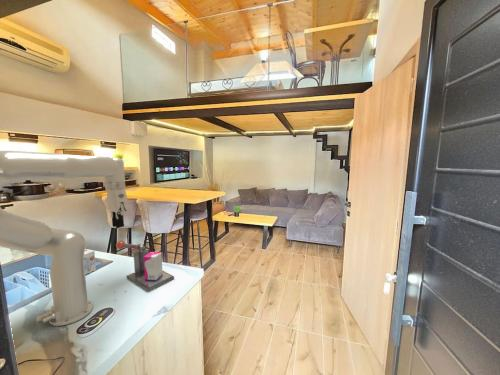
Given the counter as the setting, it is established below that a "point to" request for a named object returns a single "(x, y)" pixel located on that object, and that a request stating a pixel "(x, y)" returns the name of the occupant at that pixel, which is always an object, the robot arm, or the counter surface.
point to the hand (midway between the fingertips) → (118, 226)
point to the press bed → (139, 274)
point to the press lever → (130, 246)
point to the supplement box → (153, 266)
